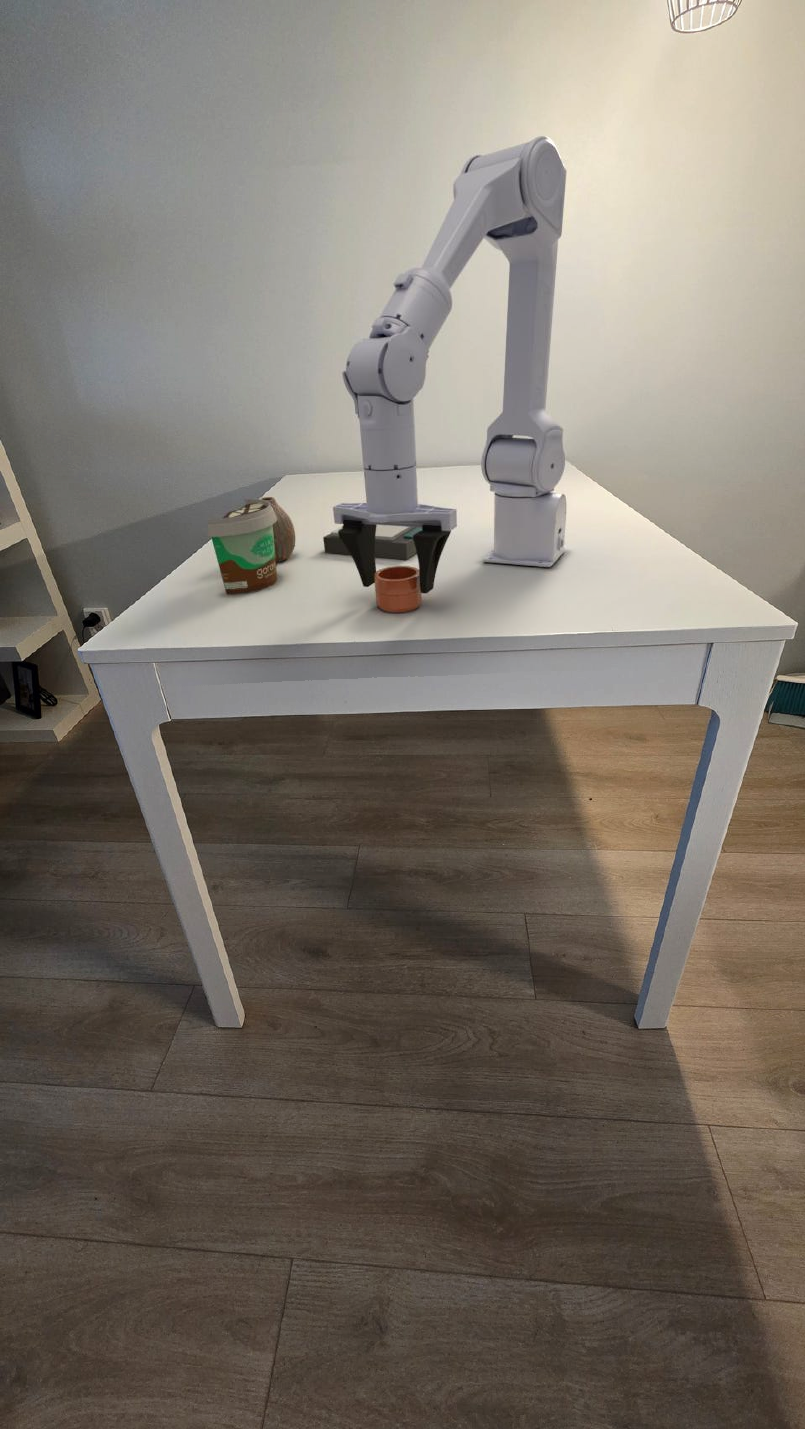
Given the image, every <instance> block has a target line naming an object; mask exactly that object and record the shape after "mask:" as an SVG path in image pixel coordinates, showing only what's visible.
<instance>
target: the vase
mask: <svg viewBox="0 0 805 1429" xmlns="http://www.w3.org/2000/svg"><path fill="white" fill-rule="evenodd" d="M259 499H262V500H266V501H268V502H269V503H270V506H272V507H273V510H274V512H275V515H276V518H277V521H276V522H275V523H274V524H272V525H273V537H274V548H275V559H276V563H278V562H282V561H286V560H287V559H289V557H291V555H292V554H293V552H294V550H295V546H296V531H295V526H294V524H293V521H292V519H291V517H290V516H289V514H288V513H287V512H286V511H285V510H284V509H283V507H281V506H280V505H279V504H278V502H277V500H276V499H275V498H274V497H273V496H264V497H260V498H259Z"/></svg>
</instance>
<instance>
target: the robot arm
mask: <svg viewBox="0 0 805 1429" xmlns="http://www.w3.org/2000/svg"><path fill="white" fill-rule="evenodd" d="M566 182H567V168H566V166H565V164H564V162H563V160H562V157H561V155H560V153H559V150H558V148H557V146H556V144H555V143H554V141H553V140H552V139H551V138H550V137H549V136H545V135H540V136H537V137H535V138H533V139H531V140H530V141H527V142H524V143H520V144H517V145H513V146H510V147H507V148H503V149H501V150H497V151H494V152H490V153H487V154H483V155H482V154H481V155H479V154H477V155H473V156H471V157H470V158H468V159H467V161H465V163H464V165H463V167H462V169H461V172H460V174H459V175H458V176H457V177H456V179H455V180H454V181H453V187H452V188H453V189H452V190H453V193H452V194H453V201H452V203H451V205H450V207H449V209H448V211H447V213H446V216H445V218H444V219H443V222H442V224H441V226H440V228H439V230H438V232H437V234H436V236H435V238H434V241H433V243H432V244H431V247H430V249H429V250H428V253H427V255H426V257H425V260H424V262H423V263H422V266H421V267H413V268H412V267H411V268H409V269H408V270H406V271H405V272H404V273H399V274H397V277H396V279H395V280H394V282H393V286H394V288H395V289H394V291H393V293H392V295H391V297H389V298H390V299H389V300H388V302H387V303H386V305H385V307H384V308H383V310H382V312H381V314H380V316H379V317H377V318H375V320H374V322H372V325H371V328H372V330H371V332H370V333H369V336H368V338H363V339H362V340H358V341H357V342H356V343H355V344H354V345H353V347H351V349H350V352H349V354H348V355H347V359H346V364H345V370H344V371H342V372H341V374H342V379H343V383H344V386H345V388H346V390H347V392H348V393H349V395H350V396H351V398H352V400H353V404H354V413H355V415H357V418H358V420H359V430H360V442H361V453H362V454H361V457H362V464H363V466H362V467H363V476H364V477H363V478H364V488H365V502H353V503H351V502H340V503H339V504H336V505H334V506H332V511H333V512H332V513H333V521H334V524H335V525H342V526H341V527H343V528H342V529H340V530H339V531H338V535H339V538H340V539H341V540H342V542H343V543H344V544H345V546H346V548H347V549H348V551H349V552H350V554H351V555H350V556H351V558H352V560H353V562H354V565H355V567H356V569H357V571H358V574H359V575H358V576H359V578H360V581H361V583H362V586H363V587H364V588H370V586H372V585H374V584H375V581H374V573H375V572H377V566H376V557H375V535H376V526H377V525H390V526H405V527H420V528H422V531H419V532H418V533H416V534H414V535H413V540H414V544H415V547H416V551H417V553H416V556H417V561H418V562H417V563H418V569H419V579H420V590H421V594H429V593H430V592H431V591H432V590H433V589H434V586H435V581H436V580H435V579H436V573H437V571H438V566H439V562H440V559H441V556H442V553H443V551H444V548H445V546H446V544H447V541H448V539H449V537H450V536H451V533H452V531H453V530H454V529H456V528H457V527H458V521H457V519H458V515H457V514H458V513H457V512H458V511H457V508H448V507H440V506H434V505H429V504H422V503H419V491H418V490H419V489H418V469H417V450H416V427H415V426H416V425H415V424H416V423H415V408H414V407H415V404H414V403H415V402H414V398H415V397H416V396H417V395H418V394H419V393H420V391H421V390H422V389H423V387H424V384H425V380H426V375H427V374H426V373H427V362H428V359H429V353H430V349H431V347H432V345H433V343H434V341H435V339H436V338H437V336H438V334H439V332H440V331H441V329H442V327H443V326H444V324H445V322H446V320H447V318H448V317H449V315H450V313H451V312H452V308H453V296H452V294H451V289H452V287H453V286H454V285H455V282H456V280H458V278H459V276H460V275H461V274H462V272H463V270H464V269H465V267H466V266H467V264H468V262H469V261H470V259H471V258H472V256H473V255H474V254H475V252H476V251H477V249H478V248H479V246H480V245H481V243H482V242H483V240H485V241H487V243H489V244H490V246H492V247H493V248H494V249H496V250H498V251H501V252H502V254H503V255H504V257H505V258H506V259H507V261H508V265H509V272H508V288H507V289H508V290H507V293H508V294H507V295H508V296H507V309H506V310H507V314H506V330H505V331H506V332H505V355H504V356H505V357H504V375H503V378H504V379H503V395H502V396H503V397H502V412H501V413H500V414H499V415H498V416H497V417H496V419H495V420H493V421H492V423H490V424H489V425H488V427H487V429H486V441H485V445H484V448H483V451H482V455H481V461H480V468H481V473H482V476H483V478H484V481H485V482H486V483H487V484H489V491H490V492H493V493H494V496H493V497H494V498H493V499H494V501H493V504H494V505H493V507H494V508H493V550H492V551H491V552H489V553H488V554H486V556H485V557H484V558H483V562H484V563H495V564H507V565H516V566H517V565H519V566H530V567H542V568H551V567H552V566H553V565H554V564H555V562H557V561H558V559H559V558H560V557H561V556H562V555H563V553H564V552H565V551H566V548H565V536H566V522H567V498H566V495H565V494H564V493H561V492H554V491H555V488H556V486H557V485H558V484H559V482H560V481H561V480H562V477H563V474H564V471H565V467H566V455H565V451H564V444H563V442H564V441H563V438H564V428H563V427H562V426H561V425H560V423H559V422H558V421H556V420H555V419H554V418H553V417H552V416H551V415H550V414H549V413H548V412H547V411H546V407H547V406H546V405H547V393H548V381H549V368H550V354H551V340H552V330H553V317H554V316H553V314H554V304H555V303H554V302H555V301H554V300H555V289H556V287H555V286H556V278H557V276H556V275H557V263H558V262H557V261H558V249H559V239H560V238H561V237H562V235H563V234H562V233H563V222H564V209H565V195H566V184H567V183H566ZM514 436H520V437H514ZM527 437H529V438H527Z"/></svg>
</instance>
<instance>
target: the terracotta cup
mask: <svg viewBox="0 0 805 1429" xmlns="http://www.w3.org/2000/svg"><path fill="white" fill-rule="evenodd" d="M374 581H375V583H374V589H375V591H374V592H375V603H376V604H375V605H377V606H378V607H379V608H380V610H382V611H383V612H387V613H394V614H397V613H407V612H411V611H413V610H416V609H417V608H418V607H419V606H420V604H421V603H422V602H423V601H422V600H423V599H422V593H421V590H420V579H419V568H418V567H415V566H409V565H395V566H387V567H384V568H383V567H382V568H380V569H378V570H376V572H375V573H374Z"/></svg>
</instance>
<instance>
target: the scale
mask: <svg viewBox="0 0 805 1429" xmlns="http://www.w3.org/2000/svg"><path fill="white" fill-rule="evenodd" d="M342 528H343V527H342V526H341V527H338V528H337V529H335V530H333V531H330V533H329V534H327V535H325V536H323V537H322V540H323V547H324V553H325V554H333V555H335V554H336V555H345V556H346V555H347V556H351V554H350V552H349V551H348V549H347V548H346V546H345V544H344V543H343V542H342V540H341V539H340V538H339V535H338V531H339V530H340V529H342ZM419 531H422V528H420V527H405V526H390V525H377V526H376V535H375V558H382V559H391V560H392V559H393V560H402V561H404V560H405V561H408V560H409V559H410V558H412V557H414V556H415V555H417V551H416V547H415V544H414V540H413V535H414V534H416V533H418V532H419Z"/></svg>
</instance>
